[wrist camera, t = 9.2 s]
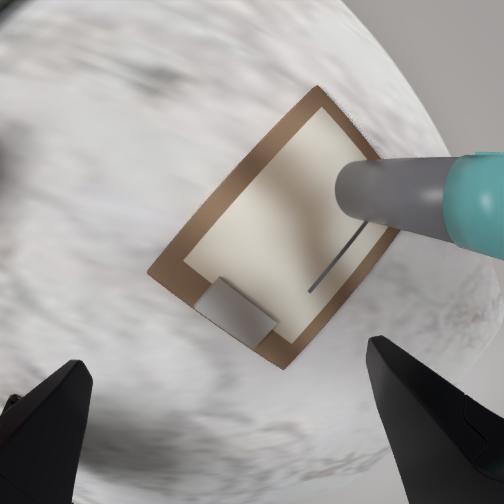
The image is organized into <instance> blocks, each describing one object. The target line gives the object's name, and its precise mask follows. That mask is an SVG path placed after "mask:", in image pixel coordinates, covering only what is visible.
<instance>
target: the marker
mask: <svg viewBox="0 0 504 504" xmlns="http://www.w3.org/2000/svg"><path fill="white" fill-rule="evenodd" d="M335 197H336V201H337V203H338V205H339V207H340V209H341V210H342V211H343V212H344V213H345V214H346V215H347V216H349V217H351V218H354V219H359V220H363V221H367V222H372V223H376V224H380V225H384V226H388V227H393V228H397V229H401V230H405V231H409V232H413V233H417V234H421V235H424V236H428V237H432V238H436V239H440V240H443V241H447V242H451V243H454V244H456V245H457V246H459V247H460V248H464V249H467V250H471V251H474V252H478V253H481V254H484V255H488V256H491V257H494V258H498V259H501V260H504V153H500V152H475V155H464V156H461V157H430V158H398V159H378V160H362V161H353V162H350V163H348V164H347V165H345V166H344V167H343V168H342V169H341V171H340V172H339V174H338V176H337V179H336V182H335Z"/></svg>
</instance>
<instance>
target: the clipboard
mask: <svg viewBox="0 0 504 504" xmlns="http://www.w3.org/2000/svg"><path fill="white" fill-rule="evenodd" d="M378 159H380V157H379V156H378V155H377V153H376V152H375V151H374V150H373V148H372V147H371V146H370V145H369V143H368V142H367V141H366V140H365V138H364V137H363V136H362V135H361V133H360V132H359V131H358V130H357V129H356V127H355V126H354V125H353V124H352V123H351V121H350V120H349V119H348V118H347V117H346V116H345V114H344V113H343V112H342V111H341V110H340V109H339V108H338V107H337V105H336V104H335V103H334V102H333V101H332V100H331V99H330V98H329V97H328V96H327V94H326V93H325V92H324V91H323V90H322V89H321V88H320V87H319V86H318V85H317V86H315V87H313V88H312V89H311V90H310V91H309V92H308V93H307V94H306V95H305V96H304V97H303V98H302V99H301V100H300V101H299V102H298V103H297V104H296V105H295V106H294V107H293V108H292V109H291V110H290V111H289V112H288V113H287V114H286V115H285V116H284V117H283V118H282V119H281V120H280V121H279V122H278V123H277V124H276V125H275V126H274V127H273V128H272V129H271V130H270V132H269V133H268V134H267V135H266V136H265V137H264V138H263V139H262V140H261V141H260V142H259V143H258V144H257V145H256V146H255V147H254V148H253V149H252V150H251V152H250V153H249V154H248V155H247V156H246V157H245V158H244V159H243V160H242V161H241V162H240V163H239V164H238V166H237V167H236V168H235V169H234V170H233V171H232V172H231V173H230V174H229V175H228V176H227V178H226V179H225V180H224V181H223V182H222V183H221V184H220V185H219V187H218V188H217V189H216V190H215V191H214V192H213V193H212V194H211V196H210V197H209V198H208V199H207V200H206V201H205V202H204V204H203V205H202V206H201V207H200V208H199V209H198V210H197V212H196V213H195V214H194V215H193V216H192V217H191V219H190V220H189V221H188V222H187V223H186V224H185V226H184V227H183V228H182V229H181V230H180V232H179V233H178V234H177V235H176V236H175V238H174V239H173V240H172V241H171V242H170V244H169V245H168V246H167V247H166V248H165V250H164V251H163V252H162V253H161V255H160V256H159V257H158V258H157V259H156V261H155V262H154V263H153V264H152V266H151V267H150V268H149V269H148V271H147V274H148V275H149V276H151V277H152V278H153V279H154V280H156V281H157V282H158V283H160V284H161V285H162V286H164V287H165V288H166V289H167V290H169V291H170V292H171V293H173V294H174V295H175V296H177V297H178V298H179V299H181V300H182V301H183V302H185V303H186V304H187V305H189V306H190V307H192V308H193V309H194V310H196V311H197V312H198V313H200V314H201V315H203V316H204V317H205V318H207V319H208V320H209V321H211V322H212V323H214V324H215V325H217V326H218V327H219V328H221V329H222V330H224V331H225V332H227V333H228V334H229V335H231V336H232V337H234V338H235V339H237V340H238V341H240V342H241V343H243V344H244V345H245V346H247V347H248V348H250V349H251V350H253V351H254V352H256V353H257V354H259V355H260V356H262V357H264V358H265V359H267V360H268V361H270V362H271V363H273V364H274V365H276V366H277V367H279V368H280V369H282V370H284V369H285V368H286V367H287V366H288V365H289V364H290V363H291V362H292V361H293V360H294V359H295V358H296V357H297V356H298V355H299V353H300V352H301V351H302V350H303V349H304V348H305V347H306V346H307V345H308V344H309V343H310V341H311V340H312V339H313V338H314V337H315V336H316V335H317V334H318V332H319V331H320V330H321V329H322V328H323V327H324V326H325V325H326V323H327V322H328V321H329V320H330V319H331V318H332V316H333V315H334V314H335V313H336V312H337V311H338V309H339V308H340V307H341V306H342V305H343V303H344V302H345V301H346V300H347V299H348V297H349V296H350V295H351V294H352V293H353V291H354V290H355V289H356V288H357V286H358V285H359V284H360V283H361V281H362V280H363V279H364V278H365V276H366V275H367V274H368V273H369V271H370V270H371V269H372V267H373V266H374V265H375V264H376V262H377V261H378V260H379V258H380V257H381V256H382V254H383V253H384V252H385V250H386V249H387V248H388V246H389V245H390V244H391V242H392V241H393V240H394V238H395V237H396V236H397V234H398V233H399V231H400V230H401V229H397V228H393V227H388V226H384V225H380V224H376V223H372V222H367V221H363V220H359V219H354V218H351V217H349V216H347V215H346V214H345V213H344V212H343V211H342V210H341V209H340V207H339V205H338V203H337V201H336V197H335V182H336V179H337V176H338V174H339V172H340V171H341V169H342V168H343V167H344V166H345V165H347V164H348V163H350V162H353V161H362V160H378Z"/></svg>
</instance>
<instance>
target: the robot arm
mask: <svg viewBox="0 0 504 504" xmlns="http://www.w3.org/2000/svg"><path fill="white" fill-rule="evenodd" d="M366 365H367V369H368V373H369V377H370V381H371V385H372V389H373V393H374V398H375V402H376V406H377V409H378V412H379V415H380V418H381V420H382V423H383V426H384V429H385V432H386V434H387V437H388V440H389V443H390V446H391V449H392V452H393V455H394V458H395V460H396V463H397V467H398V470H399V473H400V476H401V479H402V482H403V485H404V488H405V492H406V495H407V498H408V501H409V504H504V418H502V417H500V416H498V415H497V414H495V413H493V412H491V411H490V410H488V409H487V408H485V407H484V406H482V405H480V404H479V403H478V402H476V401H475V400H473V399H472V398H470V397H469V396H468V395H465V394H464V393H463V392H462V391H460V390H459V389H458V388H456V387H455V386H454V385H452V384H451V383H449V382H448V381H447V380H445V379H444V378H442V377H441V376H440V375H438V374H437V373H435V372H434V371H433V370H431V369H430V368H428V367H427V366H426V365H424V364H423V363H421V362H420V361H418V360H417V359H416V358H414V357H413V356H411V355H410V354H409V353H407V352H406V351H404V350H403V349H401V348H400V347H399V346H397V345H396V344H394V343H393V342H392V341H390V340H389V339H387V338H386V337H384V336H382V335H380V336H375V337H371V338H369V340H368V346H367V353H366ZM92 386H93V379H92V376H91V374H90V373H89V371H88V369H87V368H86V366H85V364H84V363H83V361H81V360H70V361H68V362H67V363H66V364H64V365H63V366H62V367H61V368H59V369H58V370H57V371H55V372H54V373H53V374H52V375H50V376H49V377H48V378H47V379H45V380H44V381H43V382H42V383H40V384H39V385H38V386H36V387H35V388H34V389H33V390H31V391H30V392H29V393H28V394H26V395H25V396H24V397H23V398H21V399H19V398H17V397H16V396H14V395H10V397H9V399H8V401H7V403H6V405H5V407H4V409H3V412H2V414H1V416H0V504H74V503H72V496H73V490H74V484H75V478H76V472H77V467H78V462H79V457H80V452H81V447H82V443H83V438H84V434H85V429H86V425H87V419H88V413H89V406H90V399H91V392H92Z"/></svg>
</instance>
